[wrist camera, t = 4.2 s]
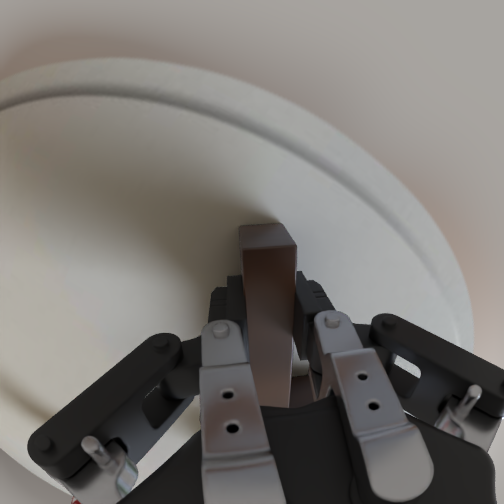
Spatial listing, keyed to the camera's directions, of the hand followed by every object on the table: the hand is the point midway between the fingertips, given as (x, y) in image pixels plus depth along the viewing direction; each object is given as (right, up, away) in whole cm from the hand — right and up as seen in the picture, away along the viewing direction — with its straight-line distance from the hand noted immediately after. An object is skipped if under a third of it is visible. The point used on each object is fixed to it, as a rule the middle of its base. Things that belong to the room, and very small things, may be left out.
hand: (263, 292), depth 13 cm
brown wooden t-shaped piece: (0, -2, +2) cm, 2 cm away
